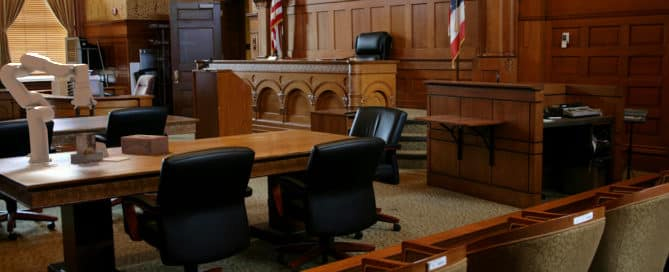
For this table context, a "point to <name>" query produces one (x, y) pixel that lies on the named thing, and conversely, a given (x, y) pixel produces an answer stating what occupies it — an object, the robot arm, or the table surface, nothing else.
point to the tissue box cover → (144, 144)
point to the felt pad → (115, 159)
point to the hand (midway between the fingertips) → (84, 116)
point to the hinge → (101, 148)
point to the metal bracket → (86, 157)
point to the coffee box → (86, 143)
